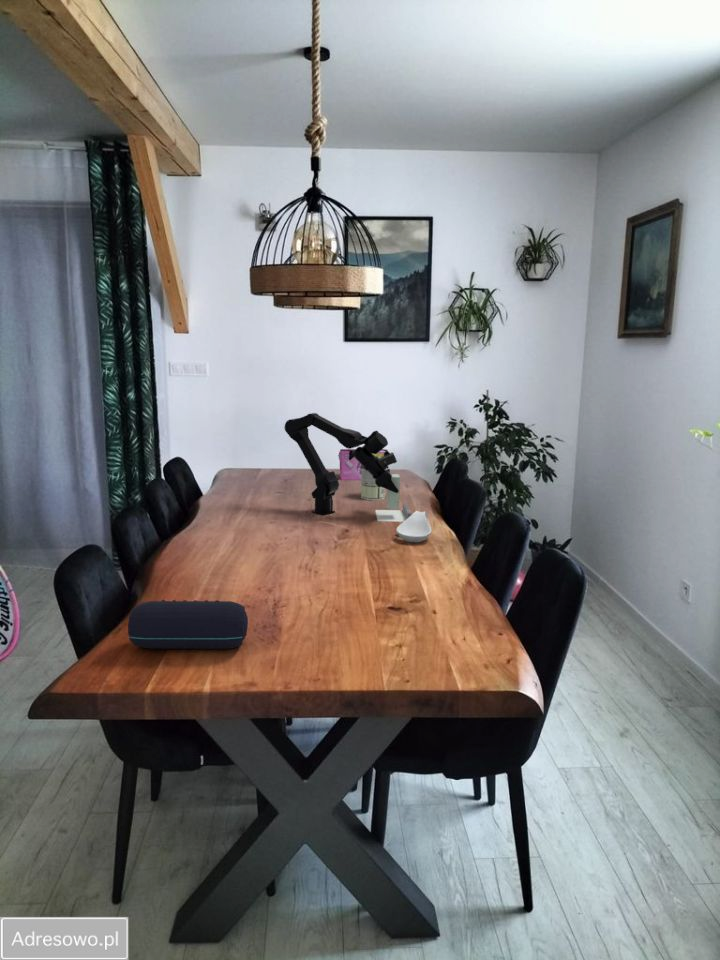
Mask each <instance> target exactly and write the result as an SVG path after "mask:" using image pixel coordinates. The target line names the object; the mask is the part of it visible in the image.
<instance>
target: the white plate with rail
mask: <svg viewBox="0 0 720 960" xmlns="http://www.w3.org/2000/svg"><path fill="white" fill-rule="evenodd" d="M375 515H376V520H377V522H395V523H396V522H398V523H399V522H401V523H403V522H404V521H405V520H406V519H408V518H409V517H410V516H411V515H412V513H411V509H410V508H409V505H408V503H407V502H403V505H402V510H400V509H375Z"/></svg>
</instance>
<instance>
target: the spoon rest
mask: <svg viewBox="0 0 720 960" xmlns="http://www.w3.org/2000/svg"><path fill="white" fill-rule="evenodd" d="M395 531H396V534H397V535H398V537H399V538H400V539H401V540H403V541H405V542H408V543H421V542H424V541H425V540H426V539H428V538H429V536H431V533H432V527H431V525H430V522H429V519H428V515H427V512H426V511H419V510H416V511H414V512H413V513H411V516H410V517H409V518H408V519H406V520H405V521H404V522H401V523H400V524H399V525H398V526H397V527H396V530H395Z"/></svg>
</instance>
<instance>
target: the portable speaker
mask: <svg viewBox="0 0 720 960" xmlns="http://www.w3.org/2000/svg"><path fill="white" fill-rule="evenodd" d="M127 622H128V623H127V634H128V636H129V637H128V639H129V640H130V642H131V644H133V646H136V647H137V648H138V647H139V648H145V649H185V650H186V649H196V650H197V649H205V650H206V649H211V650H212V649H218V650H219V649H222V650H224V649H228V650H229V649H234V648H239V647H241V646H242V644H243V641H244V640H245V638H246V636H247V633H248V628H249V627H248V626H249V617H248V615H247V612H246V606H245V605H244V606H243V605H242V604H241V603H239V602H234V601H231V600H230V601H229V600H225V601H222V600H221V601H219V600H214V601H213V600H212V601H211V600H210V601H209V600H208V599H207V600H201V601H200V600H199V601H198V600H197V599H196V600H193V601H191V600H186V599H185V600H176V599H175V600H149V601H146V602H142V603H139V604H138V605H136V606H135V607H133V608H132V609H131V611H130V613H129V615H128V621H127Z"/></svg>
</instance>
